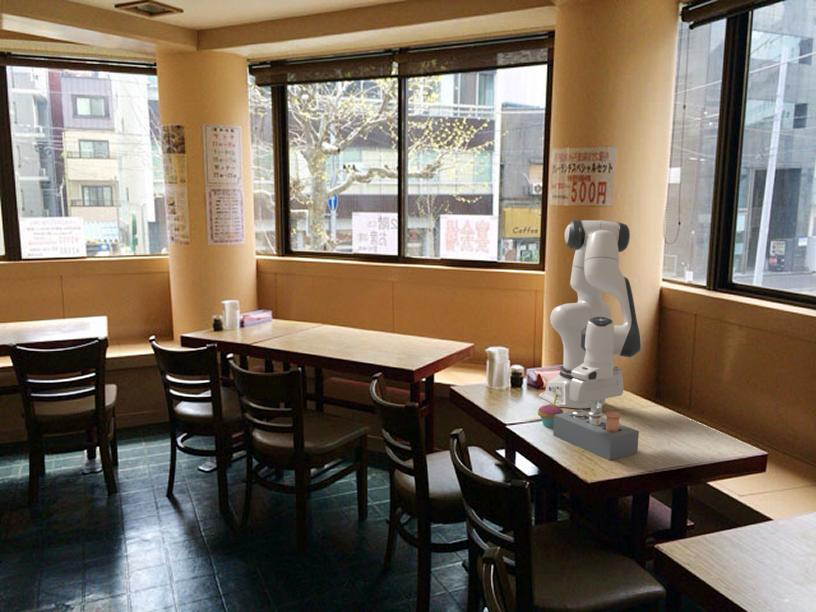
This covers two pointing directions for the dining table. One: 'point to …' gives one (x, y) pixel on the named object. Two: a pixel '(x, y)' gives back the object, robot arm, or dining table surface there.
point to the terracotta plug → (612, 421)
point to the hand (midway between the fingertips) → (596, 412)
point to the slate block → (596, 436)
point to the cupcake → (549, 413)
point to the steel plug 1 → (578, 414)
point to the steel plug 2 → (595, 418)
